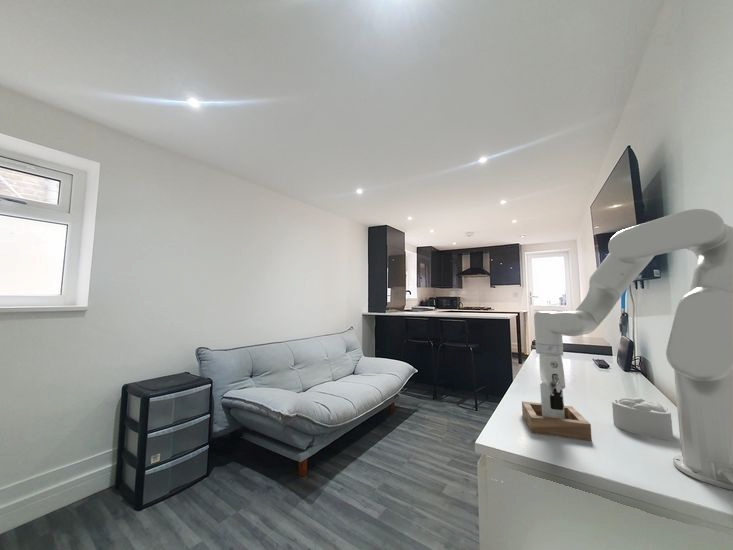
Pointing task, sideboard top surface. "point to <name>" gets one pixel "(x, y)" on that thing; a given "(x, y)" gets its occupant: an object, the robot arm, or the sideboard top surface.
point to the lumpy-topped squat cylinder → (643, 418)
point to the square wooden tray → (556, 422)
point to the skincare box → (546, 403)
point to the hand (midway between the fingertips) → (552, 404)
